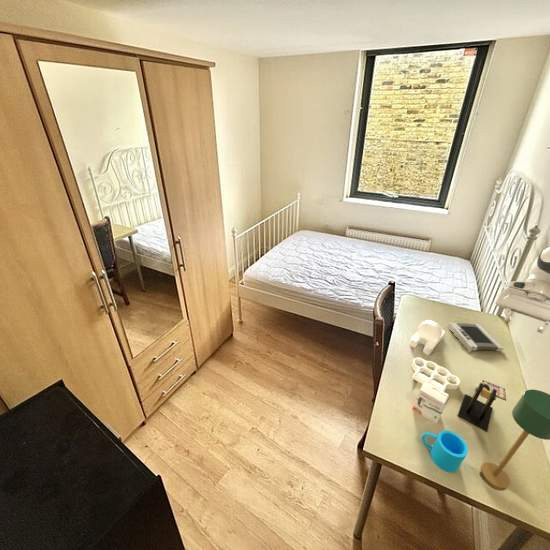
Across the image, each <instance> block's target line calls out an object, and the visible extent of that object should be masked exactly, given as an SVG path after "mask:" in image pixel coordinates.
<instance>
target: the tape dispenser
mask: <svg viewBox="0 0 550 550" xmlns="http://www.w3.org/2000/svg"><path fill="white" fill-rule="evenodd" d="M445 333H446V331H445V330H444V329H442V327H441V325H440V324H439V323H438V322H436V321H434V320H431V319H426V320H423V321H422V322H421V323H420V324H419V325H418V326H417V329H416V332H415V333H414V334H413V335H412V336H411V337H410V340H409V342H408V343H409V344H408V345H409V346H410V347H412V348H413V349H415V348H416V347H417V346H418V345H419V343H420V345H423V346H424V347H423V349H422V353H423V354H426V355H428V356H429V355H431V354H432V353H433V351H434V350H435V349H436V347H437V346H438V345H439V343H440V342H441V341H442V340H443V338H444V335H445Z"/></svg>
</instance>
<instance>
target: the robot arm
mask: <svg viewBox="0 0 550 550" xmlns="http://www.w3.org/2000/svg"><path fill="white" fill-rule="evenodd" d="M494 304H495V306H497V307H499V308H501V309H504V315H505V318H504V321H505V322H508V323H510V322H511V319H512V316H511V315H510V312H513V313H517V314H520V315H523V316H526V317H529V318H530V319H531V318H532V319H535V320H538V321H541V322H542V323H543V322H544V324H543V325H544V326H538V328H537V330H536V333H538V334H544V332H545V330H546V329H547V328H550V246H548V247H546V248H543V250H541V252H540V253H539V255H538V256H537V257H536V258H535V260H534V261H533V263H532V265H531V267H530V269H529V272H528V277H527V278H526V279H525V281H516V280H513V281H512V280H511V281H509V283H507V285H506V287H505V288H504V289H503V290H502V291H501V292H500V294H499V295H498V296H497V299H496V300H495V303H494Z"/></svg>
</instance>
